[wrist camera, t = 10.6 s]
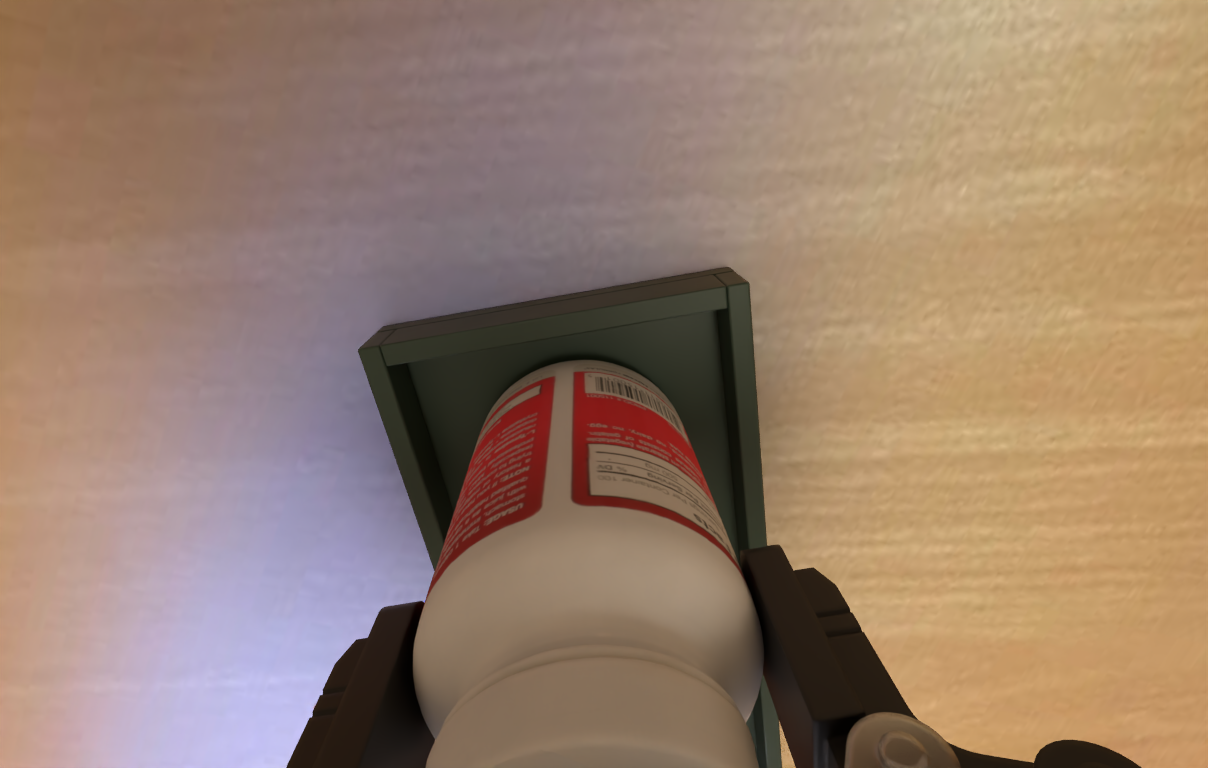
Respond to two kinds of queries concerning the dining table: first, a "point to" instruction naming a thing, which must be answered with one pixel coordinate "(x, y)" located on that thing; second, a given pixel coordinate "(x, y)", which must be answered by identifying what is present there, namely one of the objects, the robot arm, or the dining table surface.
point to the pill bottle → (587, 591)
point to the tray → (583, 332)
